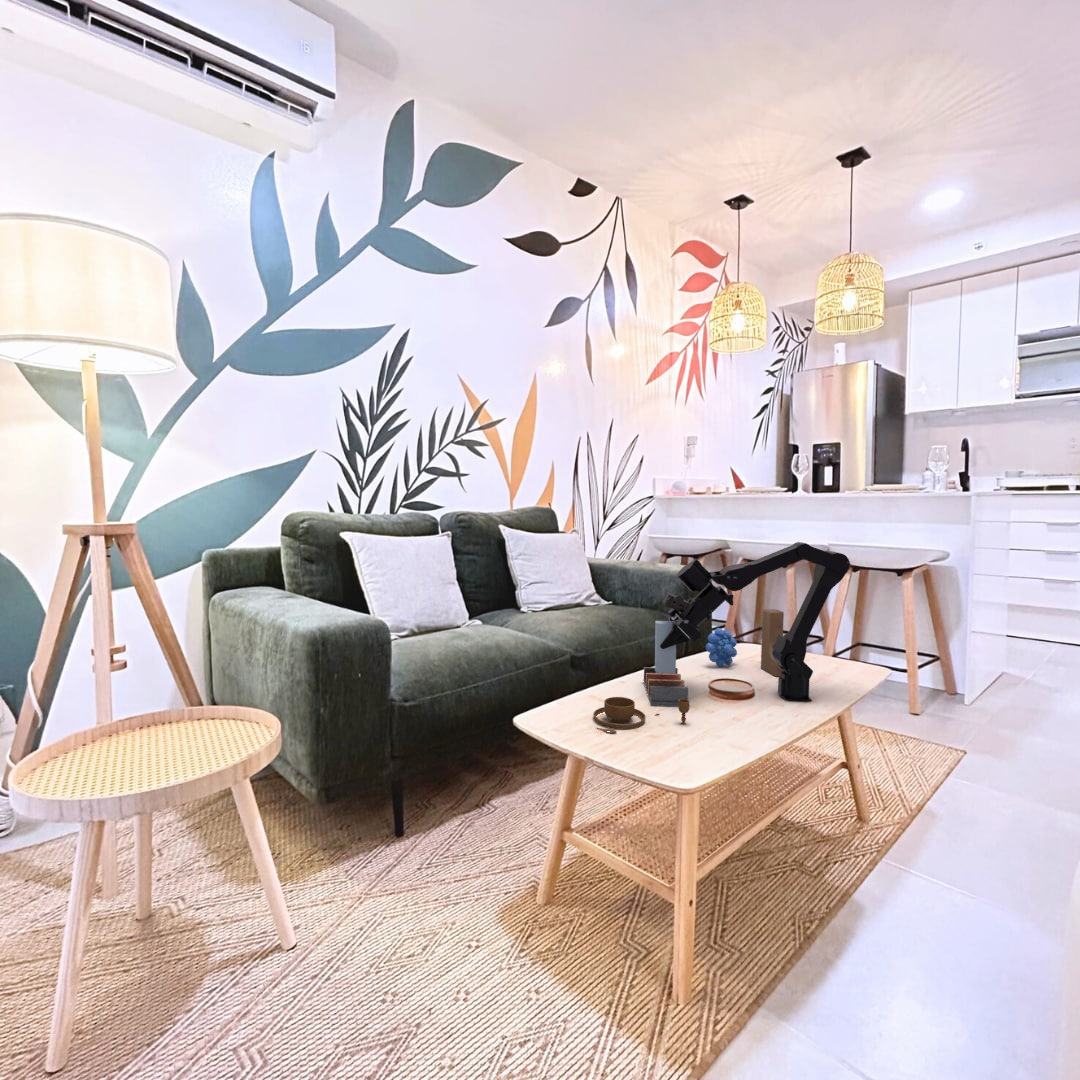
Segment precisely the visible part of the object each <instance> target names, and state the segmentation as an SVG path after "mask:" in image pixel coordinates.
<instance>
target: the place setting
mask: <svg viewBox="0 0 1080 1080" xmlns="http://www.w3.org/2000/svg"><path fill="white" fill-rule="evenodd" d="M635 705H636V703H635V700H634V699H631V698H630V697H629V698H628V697H623V696H612V697H608V698H605V699H604V704H603V707H599V708H597V709H595V711H594V712H593V720H594V721H595V722H596V723H597V724H599V725H600V726H602V727H604V726H605V727H604V728H601V727H596V728H597V729H596V730H599V729H600V730H601V731H603V732H604V733H605V732H606V733H605V734H609V733H610V734H612V735H614V734H616V733H617V731H616V730H631V729H636V727H637V728H638V727H641V726H643V725H644V723H645V722H646V715H645V713H644V712H643V711H641V710H640V709H637V708H635V707H636V706H635ZM677 708H678V711H679V713H681V718H680V721H681V722H680V725H681V726H682V725H683V726H686V725H687V723H686V721H687V718H686V714H687V713H689V711H690V700H689V699H688V700H687V699H679V700H678V707H677ZM603 712H605V714H604V715H605V716H606V717H607V718H609V720H611V722H607V721H604V720H602V719H599V717H598V718H597V717H596V716H597V715H598V714H600V713H603ZM659 715H660V713H655V714H654V717H655V716H659ZM634 716H635V717H637V716H638V717H637V718H638V719H639V721H637V722H634V723H633V722H632V723H627V722H628V721H629V720H630V719H632V717H634ZM612 722H613V723H612ZM623 723H624V724H623ZM608 727H609V728H608ZM612 728H614V729H612ZM607 731H610V732H607Z"/></svg>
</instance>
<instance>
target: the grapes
mask: <svg viewBox="0 0 1080 1080" xmlns="http://www.w3.org/2000/svg"><path fill="white" fill-rule="evenodd" d="M732 636H733V635H732V632H731V631H730V630H728V629H724V630H723V629H722V628H720V627H717V628H716V629H715V630H714V633H713V632H711V633H709V634H708V635H707V640H708V643H706V645H705V650H706V651H707V652H708V653H709V654H708V658H709V661H711V662H712V663H715V664H716V666H717V667H719V668H722V667H724V666H725V665H727V666H730V665H732V664H733V658H735V657H736V656H737V655H738V651H737V649H736V648H735V647H736V646H737V645H738V644H737V640H736V639H735V638H734V637H732Z"/></svg>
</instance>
